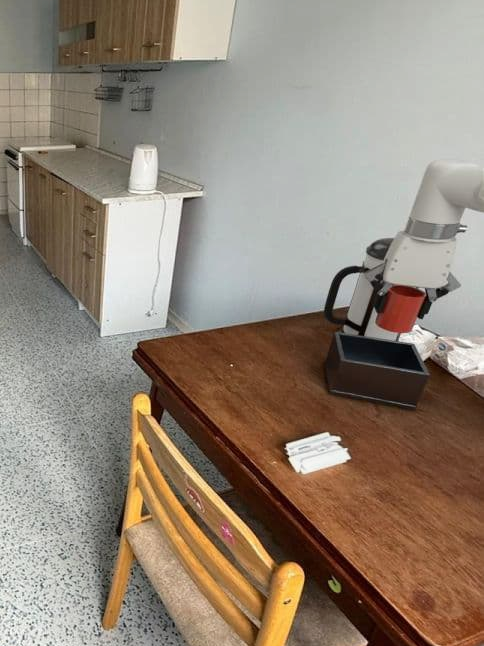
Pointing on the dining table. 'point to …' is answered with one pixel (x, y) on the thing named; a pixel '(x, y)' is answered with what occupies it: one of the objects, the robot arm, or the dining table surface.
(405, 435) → the dining table surface
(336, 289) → the coffee press
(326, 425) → the dining table surface
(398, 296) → the cup
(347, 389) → the dark open box
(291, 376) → the dining table surface
